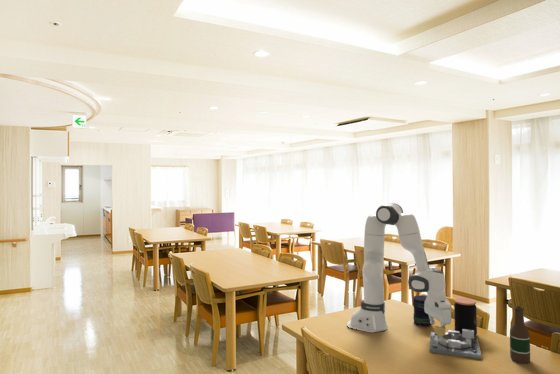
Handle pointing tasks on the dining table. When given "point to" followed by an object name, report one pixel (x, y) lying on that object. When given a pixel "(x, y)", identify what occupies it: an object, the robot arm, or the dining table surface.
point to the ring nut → (465, 336)
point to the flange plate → (465, 352)
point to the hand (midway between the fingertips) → (437, 327)
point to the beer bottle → (519, 338)
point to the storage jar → (420, 312)
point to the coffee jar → (465, 315)
